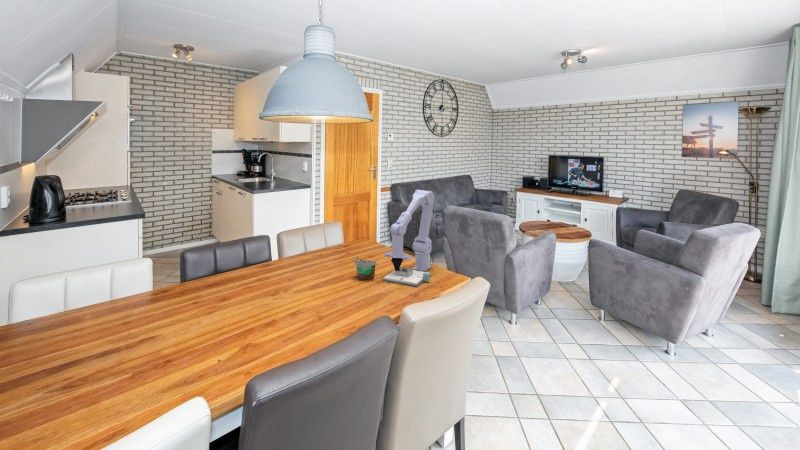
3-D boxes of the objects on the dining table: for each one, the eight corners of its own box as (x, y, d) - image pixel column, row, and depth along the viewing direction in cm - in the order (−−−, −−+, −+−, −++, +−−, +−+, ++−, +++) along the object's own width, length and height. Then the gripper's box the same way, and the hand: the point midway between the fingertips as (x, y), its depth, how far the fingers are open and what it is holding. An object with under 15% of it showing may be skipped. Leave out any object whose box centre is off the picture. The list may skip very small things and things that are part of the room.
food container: (350, 278, 211) (349, 259, 209) (356, 275, 216) (356, 256, 214) (370, 282, 206) (370, 263, 203) (376, 279, 211) (376, 260, 209)
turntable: (399, 269, 224) (399, 263, 223) (435, 275, 215) (435, 269, 214) (384, 279, 208) (384, 272, 207) (422, 286, 199) (422, 279, 198)
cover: (401, 271, 217) (401, 265, 216) (412, 273, 214) (413, 267, 213) (396, 275, 211) (396, 268, 210) (407, 277, 208) (407, 270, 208)
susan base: (398, 270, 225) (398, 269, 225) (431, 276, 217) (431, 274, 217) (382, 281, 208) (382, 279, 208) (416, 287, 200) (416, 286, 200)
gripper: (381, 246, 211) (381, 271, 214) (407, 250, 205) (406, 275, 208) (387, 243, 217) (387, 267, 220) (412, 247, 211) (412, 272, 214)
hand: (397, 271), depth 214 cm, fingers closed
